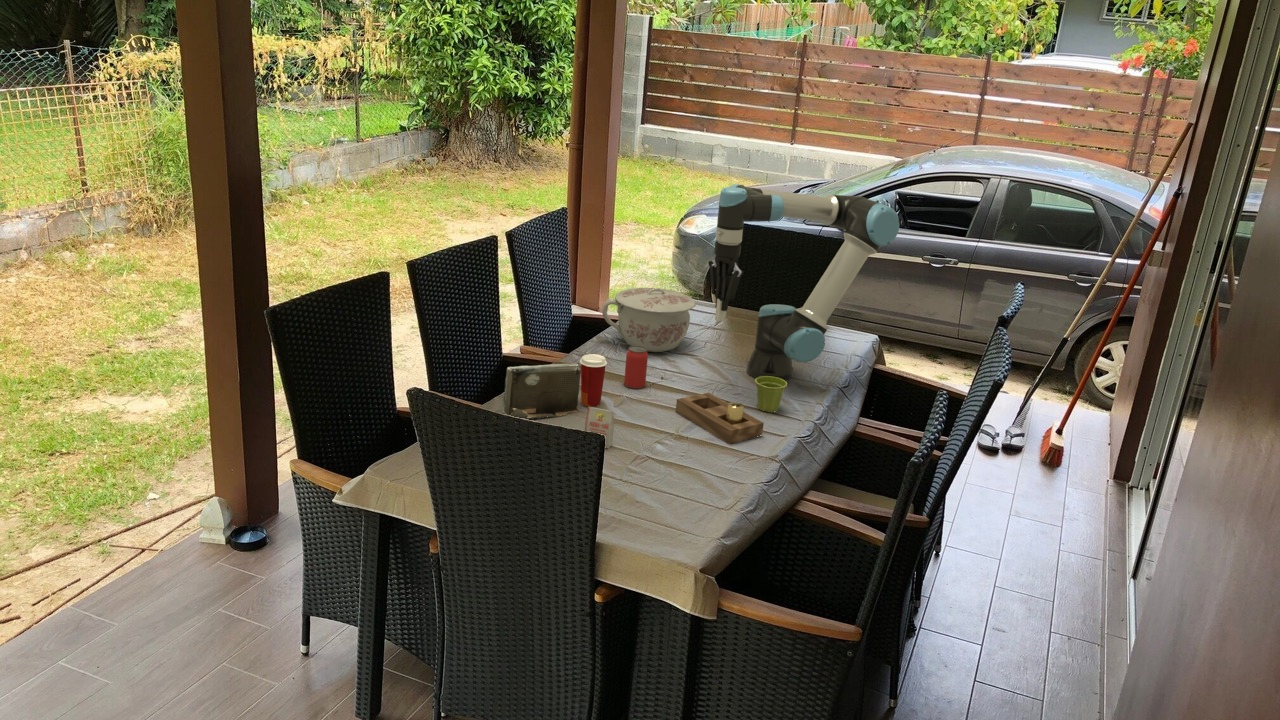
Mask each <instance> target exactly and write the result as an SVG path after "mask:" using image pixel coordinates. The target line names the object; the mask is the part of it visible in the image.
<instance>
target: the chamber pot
mask: <svg viewBox="0 0 1280 720" xmlns="http://www.w3.org/2000/svg"><path fill="white" fill-rule="evenodd" d="M696 304H697V303H696V301H695V300H694V299H693V298H692V297H691V296H689V295H687V294H685V293H683V292H678V291H675V290H672V289H667V288H666V289H665V288H659V287H635V288H628V289H624V290H621V291H619V292H617V293H616V294H615V298H613V297H609V298H607V300H605V301H604V303H603V304H602V309H601V313H602V317H603V318H604V320H605V321H606V323H607V324H608V325H610V327H613V328H614V329H615V330H616V331H617V332H618V334H619V335H620V336H621V337H622V338H623V339H624V340H625V342H626V343H627V344H628V345H629V347H630V346H642V347H645V348H646V349H647V353H662V352H663V353H664V352H667V351H673V350H674V349H676V347H678V346H679V345H680V344H681V342H682V341H683V339H685V337H686V335H687V333H688V330H689V327H690V320H691V314H690V313H689V311H690V310H692V309H694V308H695V307H696ZM611 305H614V306H616V307H617V310H616V312H617V314H618V315H617V321H618V324H617V323H615V322H614V321H612V320H611V318H610V317H609V316H608V307H609V306H611Z"/></svg>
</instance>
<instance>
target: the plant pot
mask: <svg viewBox="0 0 1280 720" xmlns="http://www.w3.org/2000/svg"><path fill="white" fill-rule="evenodd" d="M754 381H755V385H756V389H757V390H756V391H757V393H756V394H757V395H756V396H757V409H758V408H759V409H760V411H761V410H762V411H761V412H767V413H775V412H774V411H776V412H778V411H779V408H780V404H781V402H782V397H783V393H784V391H785V390H786V387H787V386H788V382H787V381H785V380H783V379H780V378H777V377H772V376H762V377H758V378H754ZM759 409H758V410H759Z"/></svg>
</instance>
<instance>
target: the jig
mask: <svg viewBox="0 0 1280 720" xmlns="http://www.w3.org/2000/svg"><path fill="white" fill-rule="evenodd" d="M728 403H729V402H727V401H725V400H723V399H721V398H720V397H718V396H716V395H714V394H713V393H710V392H704V393H700V394H695V395H691V396H686V397H681V398H677V399H676V404H675V413H676V414H678V415H680V416H682V417H683V418H685V419H687V420H688V421H690V422H691V421H692V423H693V424H695V425H696V426H698V427H700V428H701V429H703V430H705V431H706V430H707V431H706V432H708V431H709V432H708V433H709V434H712V435H714V436H715V437H716V438H718V439H720V440H722V441H723V442H725V443H726V442H727V444H728V445H732V444H735V442H736V443H740V442H744V441H747V439H748V440H752V439H755V438H754V437H756V438H758V437H757V436H760V435H762V436H763V431H764V424H765V423H764V422H763V421H762V420H760V419H757V418H756V417H754V416H753V415H751V414H748V413H747V412H745V411H743V416H742V423H739V424H734V425H731V424H729V423H728V422H726V416H727V407H728ZM760 437H761V436H760ZM751 438H752V439H751ZM743 440H744V441H743ZM739 441H740V442H739Z"/></svg>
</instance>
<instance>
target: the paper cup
mask: <svg viewBox="0 0 1280 720" xmlns="http://www.w3.org/2000/svg"><path fill="white" fill-rule="evenodd" d="M579 364H580V369H581V374H580V402H581V403H580V404H582V405H583V406H584V407H587V408H588V407H593V408H597V407H598V405H599V406H601V401H602V393H603V389H604V388H603V387H604V379H605V373H606V366H607V364H608V362H607V360H606V357H605V356H603V355H600V354H594V353H588V354H584V355H582V357H581V359H580V360H579Z"/></svg>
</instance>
